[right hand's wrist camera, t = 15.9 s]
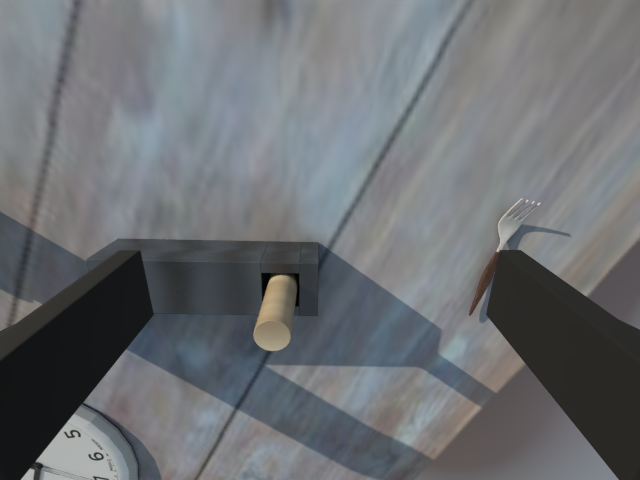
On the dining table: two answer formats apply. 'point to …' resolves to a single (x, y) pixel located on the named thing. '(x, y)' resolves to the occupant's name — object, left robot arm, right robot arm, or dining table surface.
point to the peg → (277, 312)
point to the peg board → (220, 273)
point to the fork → (501, 246)
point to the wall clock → (86, 452)
